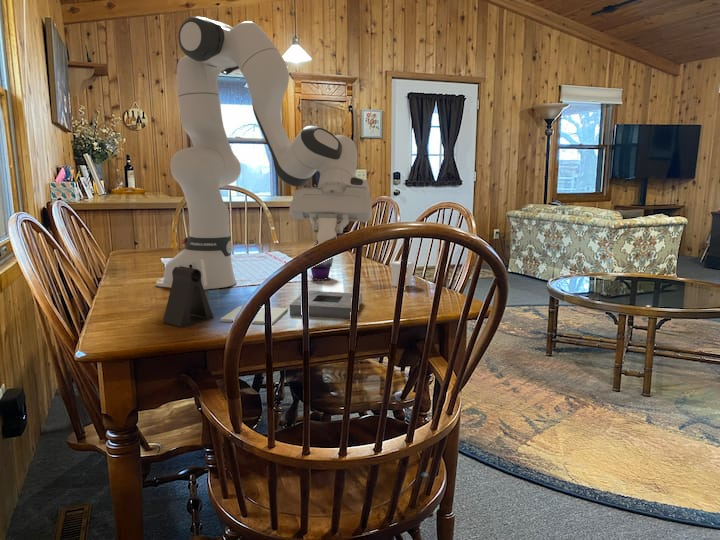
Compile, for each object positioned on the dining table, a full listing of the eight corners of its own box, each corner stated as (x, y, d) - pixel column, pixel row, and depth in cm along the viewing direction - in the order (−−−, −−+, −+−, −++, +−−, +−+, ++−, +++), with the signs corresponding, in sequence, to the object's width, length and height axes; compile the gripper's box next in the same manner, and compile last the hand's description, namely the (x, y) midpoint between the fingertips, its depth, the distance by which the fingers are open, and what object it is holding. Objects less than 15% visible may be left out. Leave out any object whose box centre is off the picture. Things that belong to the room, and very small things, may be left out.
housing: (289, 314, 124) (289, 304, 123) (305, 299, 138) (305, 290, 138) (352, 318, 122) (353, 308, 121) (362, 303, 136) (362, 293, 136)
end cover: (316, 252, 125) (316, 214, 124) (320, 249, 130) (320, 212, 128) (334, 253, 125) (334, 214, 123) (337, 250, 129) (338, 213, 127)
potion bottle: (314, 274, 173) (314, 237, 171) (338, 276, 170) (339, 239, 167) (302, 278, 165) (302, 240, 163) (327, 281, 162) (327, 242, 160)
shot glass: (411, 288, 155) (412, 264, 154) (388, 286, 156) (389, 263, 155) (414, 283, 161) (414, 261, 160) (391, 282, 163) (392, 259, 161)
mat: (220, 321, 117) (220, 318, 117) (240, 307, 129) (240, 305, 129) (272, 324, 116) (272, 322, 115) (287, 310, 127) (287, 308, 127)
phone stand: (180, 328, 112) (178, 272, 110) (162, 323, 115) (160, 269, 113) (213, 318, 119) (212, 266, 117) (195, 314, 123) (194, 263, 120)
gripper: (292, 178, 132) (281, 221, 125) (373, 180, 129) (367, 224, 122) (297, 195, 137) (287, 237, 130) (375, 198, 135) (369, 241, 127)
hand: (326, 231), depth 126 cm, fingers closed on end cover, 4 cm apart
